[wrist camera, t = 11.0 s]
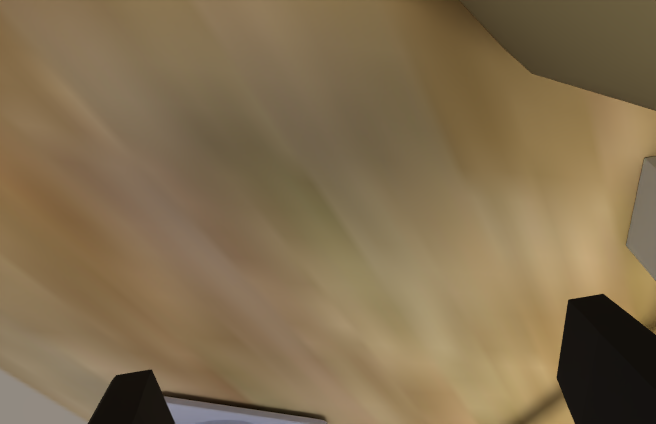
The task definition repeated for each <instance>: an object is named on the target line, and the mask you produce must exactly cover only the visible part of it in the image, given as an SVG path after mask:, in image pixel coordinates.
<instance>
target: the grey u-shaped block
mask: <svg viewBox="0 0 656 424" xmlns="http://www.w3.org/2000/svg"><path fill="white" fill-rule="evenodd" d="M626 246H627V247H628V248H629V250H630V251H631V252H632V253H633V254H634V256H635V257H636V258H637V259H638V260H639V262H640V263H641V264H642V265H643V266H644V268H645V269H646V270H647V271H648V272H649V274H650V275H651V276H652V277H653V278H654V280H655V281H656V156H654V157H647V158H644V162H643V167H642V172H641V176H640V181H639V186H638V191H637V195H636V200H635V205H634V210H633V214H632V219H631V224H630V229H629V233H628V238H627V243H626Z"/></svg>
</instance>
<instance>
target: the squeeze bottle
mask: <svg viewBox="0 0 656 424" xmlns="http://www.w3.org/2000/svg"><path fill="white" fill-rule="evenodd" d="M459 1H460V2H461V3H462V4H463V5H464V6H465V7H466V8H467V9H468V10H469V12H470V13H471V14H472V15H473V16H474V17H475V18H476V19H477V20H478V21H479V22H480V23H481V24H482V25H483V27H484V28H485V29H486V30H487V31H488V32H489V33H490V34H491V35H492V36H493V37H494V38H495V39H496V41H497V42H498V43H499V44H500V45H501V46H502V47H503V48H504V49H505V50H506V51H507V52H508V53H510V54H511V55H512V56H513V57H514V58H515V59H516V60H517V61H519V62H520V63H521V64H522V65H523V66H524V67H525V68H526V69H527V70H529V71H530V72H531V73H532V74H535V75H539V76H542V77H545V78H549V79H552V80H555V81H559V82H562V83H565V84H569V85H572V86H575V87H579V88H582V89H585V90H589V91H592V92H595V93H599V94H602V95H605V96H609V97H612V98H615V99H619V100H622V101H625V102H629V103H632V104H635V105H639V106H642V107H645V108H649V109H652V110H655V111H656V0H459Z"/></svg>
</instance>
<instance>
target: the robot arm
mask: <svg viewBox="0 0 656 424" xmlns="http://www.w3.org/2000/svg"><path fill="white" fill-rule="evenodd" d="M557 380H558V382H559V385H560V388H561V390H562V393H563V395H564V398H565V400H566V403H567V405H568V408H569V410H570V413H571V415H572V417H573V420H574V422H575V424H656V335H655V334H654V333H653V332H651V331H650V330H649V329H647V328H646V327H645V326H644V325H642V324H641V323H640V322H639V321H637V320H636V319H635V318H633V317H632V316H631V315H630V314H628V313H627V312H626V311H625V310H623V309H622V308H621V307H619V306H618V305H617V304H616V303H614V302H613V301H612V300H610V299H609V298H608V297H607V296H605V295H604V294H600V295H594V296H588V297H582V298H576V299H570V300H568V305H567V312H566V319H565V325H564V332H563V339H562V345H561V352H560V359H559V366H558V372H557ZM88 424H327V422H326V421H324V420H321V419H314V418H307V417H301V416H294V415H287V414H281V413H274V412H267V411H260V410H254V409H247V408H240V407H234V406H227V405H220V404H214V403H207V402H200V401H193V400H187V399H180V398H173V397H167V396H163V394H162V392H161V389H160V387H159V385H158V383H157V380H156V378H155V376H154V374H153V371H152V369H151V370H145V371H139V372H133V373H127V374H121V375H116V376H115V377H114V379H113V380H112V381H111V383H110V385H109V387H108V388H107V390H106V392H105V394H104V396H103V397H102V399H101V401H100V403H99V405H98V406H97V408H96V410H95V412H94V414H93V415H92V417H91V419H90V421H89V422H88Z"/></svg>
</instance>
